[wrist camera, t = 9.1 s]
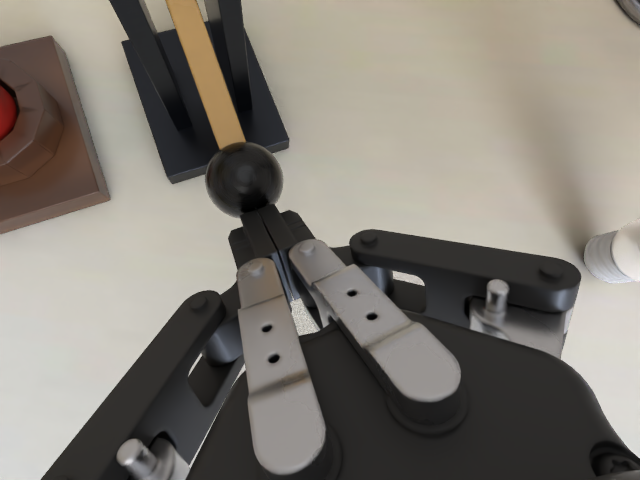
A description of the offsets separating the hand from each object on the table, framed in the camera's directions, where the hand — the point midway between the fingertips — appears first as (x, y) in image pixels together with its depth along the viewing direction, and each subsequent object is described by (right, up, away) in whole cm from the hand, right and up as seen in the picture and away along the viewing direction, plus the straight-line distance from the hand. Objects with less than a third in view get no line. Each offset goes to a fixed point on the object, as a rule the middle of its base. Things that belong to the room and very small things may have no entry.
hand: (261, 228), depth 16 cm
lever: (-3, +7, +1) cm, 7 cm away
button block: (-17, +6, +8) cm, 19 cm away
